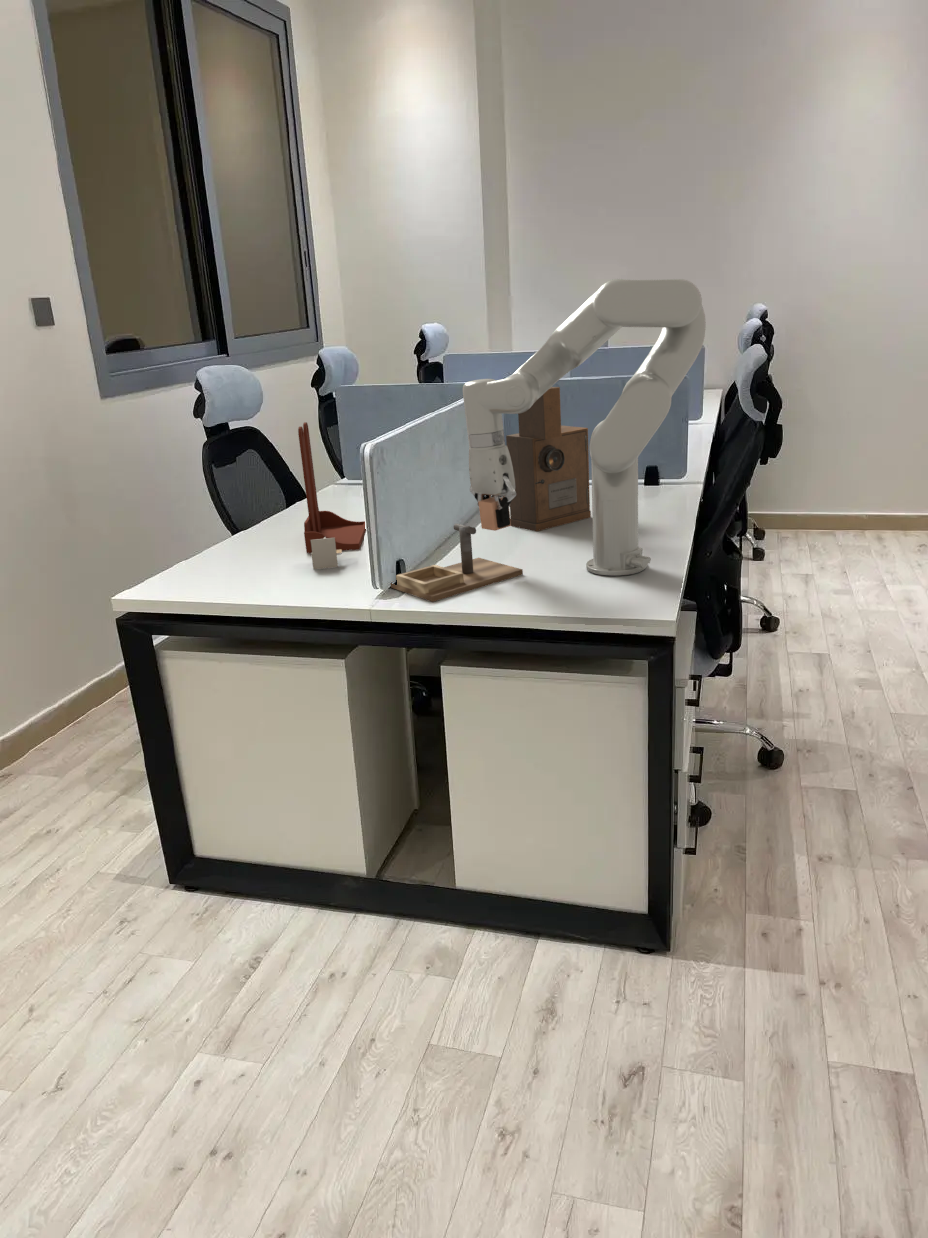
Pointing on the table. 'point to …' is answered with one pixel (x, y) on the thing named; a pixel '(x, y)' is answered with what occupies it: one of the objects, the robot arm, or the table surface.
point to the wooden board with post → (455, 573)
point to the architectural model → (324, 553)
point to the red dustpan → (324, 521)
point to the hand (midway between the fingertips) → (496, 524)
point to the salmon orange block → (489, 514)
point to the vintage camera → (548, 468)
